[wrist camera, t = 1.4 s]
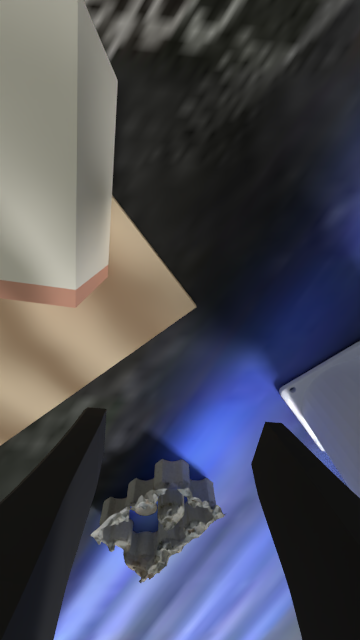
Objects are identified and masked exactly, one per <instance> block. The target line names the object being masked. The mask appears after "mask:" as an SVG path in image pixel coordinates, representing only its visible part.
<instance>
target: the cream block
mask: <svg viewBox="0 0 360 640" xmlns="http://www.w3.org/2000/svg"><path fill="white" fill-rule="evenodd" d="M117 84H118V80H117V78H116V75H115V73H114V71H113V68H112V66H111V64H110V61H109V59H108V57H107V54H106V52H105V49H104V47H103V45H102V42H101V40H100V38H99V35H98V33H97V31H96V28H95V26H94V24H93V21H92V19H91V17H90V14H89V12H88V9H87V7H86V5H85V2H84V0H0V298H2V299H9V300H17V301H25V302H33V303H40V304H48V305H56V306H64V307H71V308H76V307H77V306H78V305H79V304H80V303H81V302H82V301H83V300H84V299H85V298H87V297H88V296H89V295H90V294H91V293H92V292H93V291H94V290H95V289H96V288H97V287H98V286H99V285H100V284H101V283H102V282H103V281H104V280H105V279H106V278H107V277H108V261H109V242H110V222H111V202H112V183H113V163H114V143H115V124H116V104H117Z"/></svg>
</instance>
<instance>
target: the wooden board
mask: <svg viewBox="0 0 360 640" xmlns="http://www.w3.org/2000/svg"><path fill="white" fill-rule="evenodd" d="M194 308H196V304H195V303H194V301H193V300H192V299H191V297H190V296H189V295H188V293H187V292H186V291H185V289H184V288H183V287H182V286H181V284H180V283H179V282H178V280H177V279H176V278H175V276H174V275H173V274H172V272H171V271H170V270H169V269H168V267H167V266H166V265H165V263H164V262H163V261H162V259H161V258H160V257H159V255H158V254H157V253H156V252H155V250H154V249H153V248H152V246H151V245H150V244H149V242H148V241H147V240H146V238H145V237H144V236H143V234H142V233H141V232H140V231H139V229H138V228H137V227H136V225H135V224H134V223H133V221H132V220H131V219H130V217H129V216H128V215H127V214H126V212H125V211H124V210H123V208H122V207H121V206H120V204H119V203H118V202H117V200H116V199H115V198H114V197H113V195H112V202H111V222H110V242H109V261H108V277H107V278H106V279H105V280H104V281H103V282H102V283H101V284H100V285H99V286H98V287H97V288H96V289H95V290H94V291H93V292H92V293H91V294H90V295H89V296H88V297H87V298H85V299H84V300H83V301H82V302H81V303H80V304H79V305H78V306H77V307H76V308H71V307H64V306H56V305H48V304H40V303H33V302H25V301H17V300H9V299H2V298H0V445H2V444H3V443H4V442H6V441H7V440H9V439H10V438H12V437H13V436H14V435H16V434H17V433H19V432H20V431H21V430H23V429H24V428H26V427H27V426H29V425H30V424H31V423H33V422H34V421H36V420H37V419H38V418H40V417H41V416H43V415H44V414H46V413H47V412H48V411H50V410H51V409H53V408H54V407H55V406H57V405H58V404H60V403H61V402H63V401H64V400H65V399H67V398H68V397H70V396H71V395H72V394H74V393H75V392H77V391H78V390H80V389H81V388H82V387H84V386H85V385H87V384H88V383H89V382H91V381H92V380H94V379H95V378H97V377H98V376H99V375H101V374H102V373H104V372H105V371H106V370H108V369H109V368H111V367H112V366H114V365H115V364H116V363H118V362H119V361H121V360H122V359H124V358H125V357H126V356H128V355H129V354H131V353H132V352H133V351H135V350H136V349H138V348H139V347H141V346H142V345H143V344H145V343H146V342H148V341H149V340H150V339H152V338H153V337H155V336H156V335H158V334H159V333H160V332H162V331H163V330H165V329H166V328H167V327H169V326H170V325H172V324H173V323H175V322H176V321H177V320H179V319H180V318H182V317H183V316H184V315H186V314H187V313H189V312H190V311H192V310H193V309H194Z"/></svg>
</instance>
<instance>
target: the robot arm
mask: <svg viewBox="0 0 360 640" xmlns="http://www.w3.org/2000/svg"><path fill="white" fill-rule="evenodd" d="M292 387H294V388H293V389H292V390H290V389H291V388H292ZM279 393H280V395H281V397H282V398H283V399H284V401H285V402H286V403H287V405H288V406H289V408H290V409H291V410H292V412H293V413H294V414H295V416H296V417H297V418H298V420H299V421H300V422H301V424H302V425H303V427H304V428H305V429H306V431H307V432H308V433H309V435H310V436H311V437H312V439H313V440H314V441H315V443H316V444H317V445H318V447H319V448H320V450H322V451H325V452H326V453H327V455H328V456H329V458H330V459H331V461H332V462H333V464H334V465H335V467H336V469H337V470H338V472H339V473H340V475H341V476H342V478H343V479H344V481H345V482H346V484H347V486H348V487H349V488H348V487H347V486H346V485H345V484H344V483H343V482H342V481H341V480H340V479H339V478H337V477H336V476H335V475H334V474H333V473H332V472H331V471H330V470H329V469H328V468H327V467H326V466H325V465H324V464H323V463H322V462H321V461H320V460H319V459H318V458H317V457H316V456H315V455H314V454H313V453H312V452H311V451H310V450H309V449H308V448H307V447H306V446H305V445H304V444H303V443H302V442H301V441H300V440H299V439H298V438H297V437H296V436H295V435H294V434H293V433H292V432H291V431H290V430H288V429H287V428H286V427H285V426H284V425H283V424H282V423H273V422H265V424H264V427H263V430H262V433H261V436H260V439H259V443H258V446H257V449H256V452H255V455H254V458H253V461H252V469H253V474H254V479H255V484H256V488H257V492H258V496H259V499H260V503H261V506H262V509H263V512H264V515H265V518H266V521H267V524H268V527H269V529H270V532H271V535H272V538H273V541H274V544H275V547H276V550H277V553H278V556H279V559H280V562H281V565H282V568H283V571H284V574H285V577H286V580H287V583H288V587H289V590H290V593H291V597H292V601H293V605H294V609H295V612H296V616H297V620H298V624H299V628H300V632H301V636H302V640H360V341H359V342H357V343H355V344H353V345H352V346H350V347H348V348H347V349H345V350H343V351H342V352H340V353H338V354H337V355H335V356H333V357H331V358H330V359H328V360H326V361H325V362H323V363H321V364H320V365H318V366H316V367H315V368H313V369H311V370H309V371H308V372H306V373H304V374H303V375H301V376H299V377H298V378H296V379H294V380H293V381H291V382H289V383H287V384H286V385H284V386H282V387H281V388H280V390H279ZM105 425H106V409H100V408H86V409H85V410H84V411H83V413H82V414H81V415H80V417H79V418H78V419H77V420H76V422H75V423H74V424H73V426H72V427H71V428H70V429H69V430H68V432H67V433H66V434H65V435H64V436H63V438H62V439H61V440H60V441H59V442H58V443H57V444H56V446H55V447H54V448H53V449H52V450H51V451H50V452H49V453H48V455H47V456H46V457H45V458H44V459H43V460H42V461H41V462H40V463H39V464H38V465H37V466H36V467H35V468H34V469H33V471H32V472H31V473H30V474H29V475H28V476H27V477H26V478H25V479H24V480H23V481H22V482H21V483H20V484H19V485H18V486H17V487H16V488H15V489H14V490H13V491H12V492H11V493H10V494H9V495H8V496H7V497H5V498H4V499H3V500H2V501H1V502H0V640H53V639H54V634H55V630H56V626H57V622H58V618H59V613H60V609H61V605H62V601H63V597H64V593H65V589H66V585H67V582H68V578H69V575H70V571H71V568H72V564H73V561H74V558H75V555H76V552H77V549H78V545H79V542H80V539H81V536H82V533H83V530H84V526H85V523H86V520H87V517H88V514H89V511H90V507H91V504H92V501H93V498H94V494H95V491H96V488H97V484H98V479H99V475H100V470H101V465H102V461H103V456H104V442H105Z"/></svg>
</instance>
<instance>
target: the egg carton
mask: <svg viewBox="0 0 360 640" xmlns="http://www.w3.org/2000/svg"><path fill="white" fill-rule="evenodd" d="M184 496H186V497H187V500H188V501H187V502H186V503H185V504H184ZM157 501H158V521H159V523H158V531H156V532H153V533H152V532H148V531H145V532H140V533H136V532H134V531H133V521H132V520H131V519H130V518H129V510H130V506H131V507H132V508H131V509H132V510H133V511H135V512H136V513H137V514H139V515H142V516H148V515H151V514H154V513H155V512H156V511H157V504H156V502H157ZM224 515H225V514H223V513H222V511H221V508H220V507H219V506H218V505H216V501H215V496H214V488H213V483H212V482H211V481H210V480H209V479H207V478H205V479H203V480H191V479H190V478H189V464H188V463H186V462H185V461H184V460H182V459H181V460H178V461H173V462H171V461H167V460H164V459H161V460H160V461H159V462H157V463H156V464H155V473H154V478H153V479H151V480H148V481H144V480H139V479H137V478H136V479H134V480H133V481H131V482H130V483H129V485H128V492H127V498H123V499H116V498H113V497H109V498H108V499H106V500H105V501H104V503H103V509H102V514H101V518H100V527H99V528H98V529H97V530H96V531H94V532H93V533H92V534H91V535H90V536H93V537H94V538H95V540H96V541H97V543H98V544H100V543H101V542H103V543H105V544H106V545H107V546H108V548H109V551H111V552H112V551H114V547H115V545H116V546H118V547H120V548H122V549H123V550H124V554H123V555H124V560H125V563H126V565H127V566H128V567H129V568H130V569H131V570H133V571H134V570H135V572H136V573H137V574H138V575H139V576H140V577H141V580H140V581H139V582H140V583H141V582H144V581H145V580H146V579H147V578H149V579H151V578H152V577H153V576H154V575H155V574H156V573H160V571H161V570H162V569H163V568H164V567H165V566H167V563H168V559H169V557H170V556H171V555H173V554H175V553H179V552H181V551H182V549H183V547H184V546H185V545H186V544H187V543H189V542H190V541H191V540H192V539H194V538H197V537H199V536H200V535H201V534H202V533H203V532H204V531H205V530H206V529H207V528H208V527H209V525H210V524H211V523H213V522H214V521H216V519H219V518H222V517H224Z"/></svg>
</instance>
